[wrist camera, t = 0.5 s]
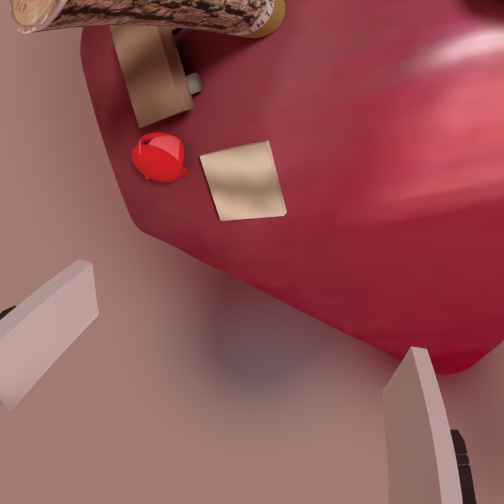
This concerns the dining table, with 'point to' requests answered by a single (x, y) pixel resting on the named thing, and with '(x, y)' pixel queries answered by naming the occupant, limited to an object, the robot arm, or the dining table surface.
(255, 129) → the dining table surface
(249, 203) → the coaster
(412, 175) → the dining table surface
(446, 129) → the dining table surface
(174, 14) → the bark-patterned canister
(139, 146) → the red rounded piece
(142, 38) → the brown toy skateboard
